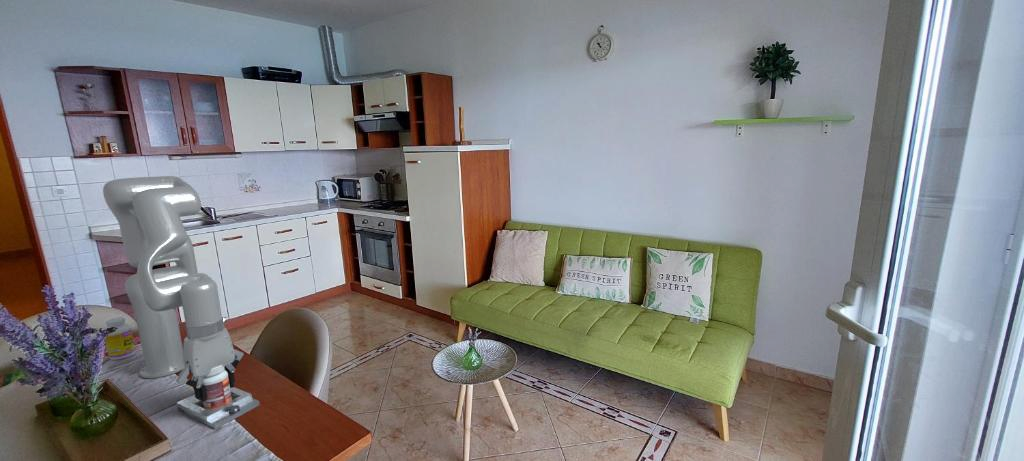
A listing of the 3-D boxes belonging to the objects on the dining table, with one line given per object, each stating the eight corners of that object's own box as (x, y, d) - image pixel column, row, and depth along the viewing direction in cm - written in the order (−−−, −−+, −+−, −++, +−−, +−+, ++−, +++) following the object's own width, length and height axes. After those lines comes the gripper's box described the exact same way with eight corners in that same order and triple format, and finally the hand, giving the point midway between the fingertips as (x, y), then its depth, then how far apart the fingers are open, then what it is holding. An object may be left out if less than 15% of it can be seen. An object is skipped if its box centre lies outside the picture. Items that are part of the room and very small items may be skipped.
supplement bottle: (128, 359, 141) (120, 322, 138) (104, 362, 139) (96, 325, 137) (140, 350, 147) (133, 315, 145) (117, 352, 146) (110, 317, 143)
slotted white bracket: (178, 411, 111) (176, 399, 111) (222, 389, 121) (220, 379, 120) (215, 429, 104) (213, 417, 103) (259, 405, 113) (257, 394, 113)
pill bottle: (232, 406, 111) (226, 366, 109) (203, 414, 108) (196, 373, 106) (232, 395, 116) (226, 357, 114) (204, 403, 113) (197, 363, 111)
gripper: (232, 314, 117) (241, 374, 121) (157, 339, 102) (170, 407, 106) (248, 318, 114) (257, 380, 117) (174, 345, 99) (186, 415, 102)
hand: (216, 392), depth 111 cm, fingers closed on pill bottle, 6 cm apart
